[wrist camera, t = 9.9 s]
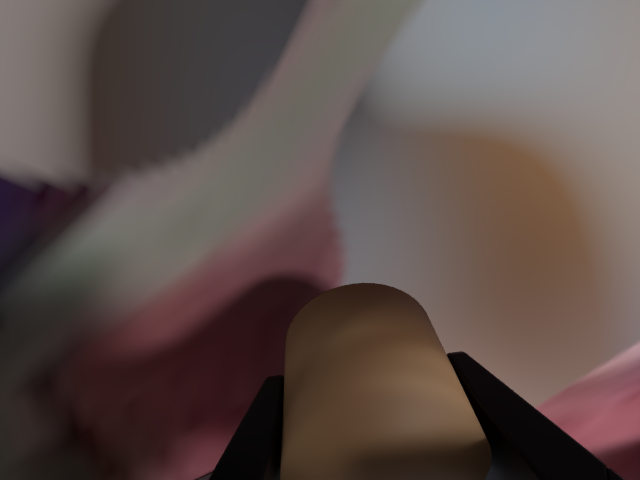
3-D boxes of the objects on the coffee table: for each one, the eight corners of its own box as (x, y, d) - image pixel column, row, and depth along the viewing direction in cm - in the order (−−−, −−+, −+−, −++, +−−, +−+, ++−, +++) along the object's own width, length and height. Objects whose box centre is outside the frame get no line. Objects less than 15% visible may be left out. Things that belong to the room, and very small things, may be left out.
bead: (432, 272, 9) (502, 390, 6) (430, 383, 11) (482, 517, 8) (272, 294, 9) (259, 422, 6) (298, 401, 11) (298, 541, 8)
